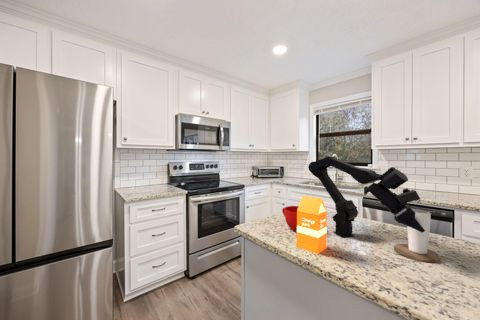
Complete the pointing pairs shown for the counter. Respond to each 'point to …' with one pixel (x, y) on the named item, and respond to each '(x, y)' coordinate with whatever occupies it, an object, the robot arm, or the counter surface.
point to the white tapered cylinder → (419, 233)
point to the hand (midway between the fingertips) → (421, 228)
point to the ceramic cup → (291, 216)
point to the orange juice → (311, 224)
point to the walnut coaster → (404, 251)
